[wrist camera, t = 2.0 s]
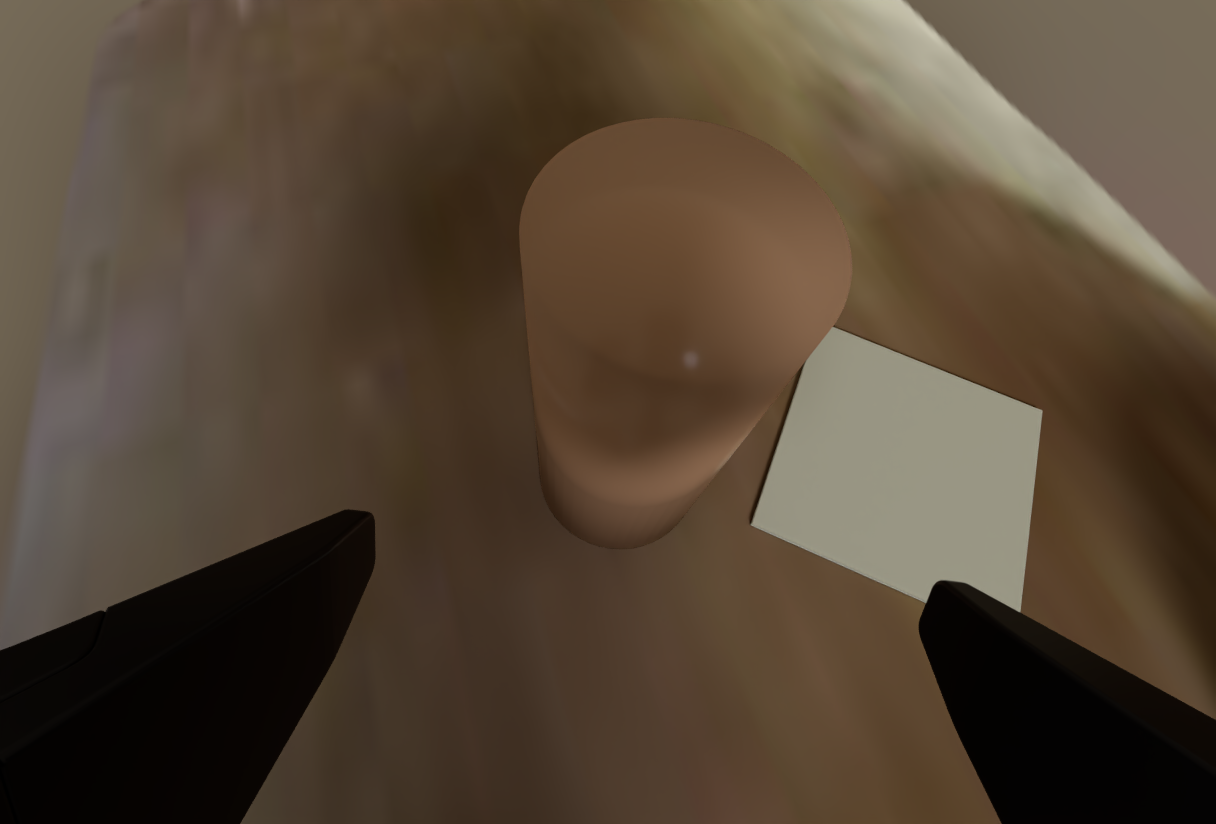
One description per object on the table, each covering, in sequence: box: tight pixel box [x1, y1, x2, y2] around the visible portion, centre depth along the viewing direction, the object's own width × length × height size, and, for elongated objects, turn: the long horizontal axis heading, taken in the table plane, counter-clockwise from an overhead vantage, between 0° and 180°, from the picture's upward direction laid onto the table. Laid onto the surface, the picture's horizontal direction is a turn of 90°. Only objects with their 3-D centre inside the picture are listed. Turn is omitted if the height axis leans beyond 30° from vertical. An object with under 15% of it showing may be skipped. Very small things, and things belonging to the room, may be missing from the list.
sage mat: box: [751, 327, 1042, 612], centre depth 23 cm, size 10×10×1 cm
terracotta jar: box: [519, 118, 852, 549], centre depth 16 cm, size 6×6×13 cm
